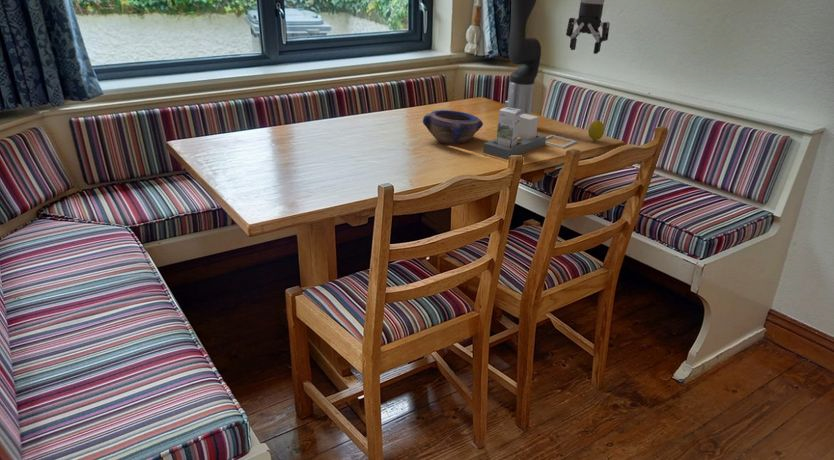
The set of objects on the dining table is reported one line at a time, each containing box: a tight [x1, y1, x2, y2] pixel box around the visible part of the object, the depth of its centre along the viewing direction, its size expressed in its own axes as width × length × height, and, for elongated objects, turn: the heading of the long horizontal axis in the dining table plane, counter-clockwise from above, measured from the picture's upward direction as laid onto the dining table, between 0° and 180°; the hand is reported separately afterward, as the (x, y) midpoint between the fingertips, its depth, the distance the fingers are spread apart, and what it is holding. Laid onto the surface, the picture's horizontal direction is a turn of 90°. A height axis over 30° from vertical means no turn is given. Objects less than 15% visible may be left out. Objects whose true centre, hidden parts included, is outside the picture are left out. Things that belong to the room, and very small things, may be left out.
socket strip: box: [482, 133, 547, 163], centre depth 210 cm, size 10×24×5 cm, turn 140°
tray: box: [545, 134, 578, 149], centre depth 220 cm, size 10×10×2 cm
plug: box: [518, 114, 539, 141], centre depth 213 cm, size 6×6×10 cm
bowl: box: [422, 109, 484, 146], centre depth 216 cm, size 18×18×10 cm
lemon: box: [587, 119, 605, 142], centre depth 225 cm, size 6×6×8 cm
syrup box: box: [495, 106, 521, 148], centre depth 204 cm, size 6×6×14 cm
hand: (584, 51), depth 211 cm, fingers open, 8 cm apart
